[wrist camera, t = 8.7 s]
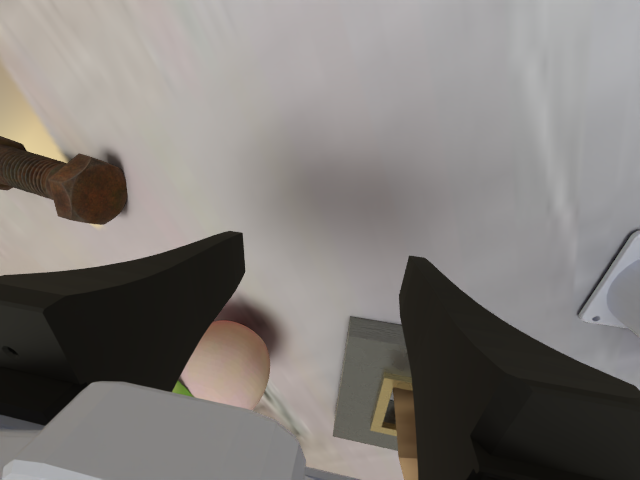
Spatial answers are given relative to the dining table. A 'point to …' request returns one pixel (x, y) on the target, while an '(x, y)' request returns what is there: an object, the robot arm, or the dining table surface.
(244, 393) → the decorative fruit
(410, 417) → the brown rectangular block
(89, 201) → the bolt
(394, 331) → the grey socket base
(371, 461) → the dining table surface
